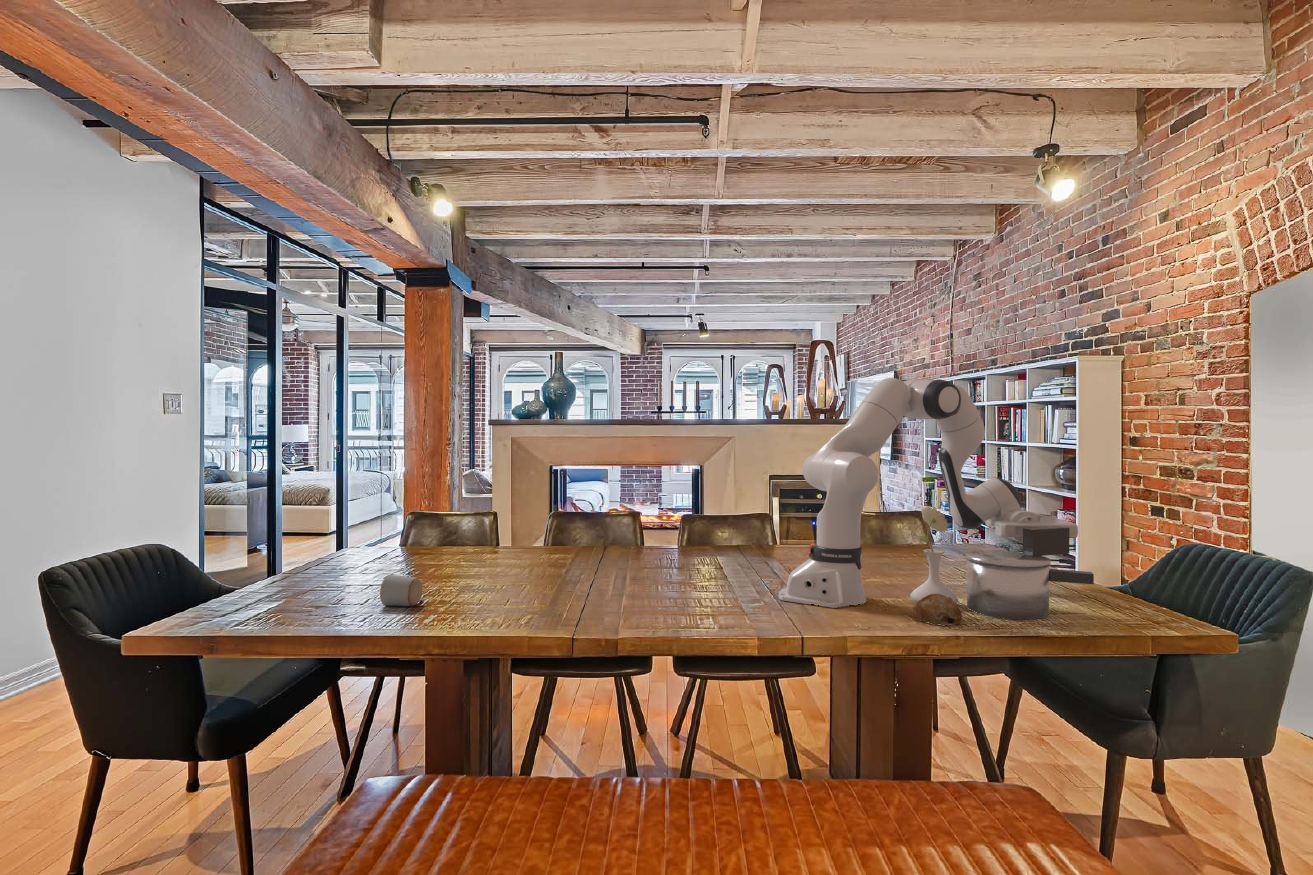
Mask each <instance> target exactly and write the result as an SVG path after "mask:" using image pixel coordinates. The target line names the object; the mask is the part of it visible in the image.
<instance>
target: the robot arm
mask: <svg viewBox="0 0 1313 875" xmlns="http://www.w3.org/2000/svg"><path fill="white" fill-rule="evenodd" d="M977 408H978V407H977V406H976V404H975V402H974V401H973V399H972V397H971V396H970V395H969V393H968V392H967V391H966V390H965V389H964V387H963V386H961V385H959V384H955V383H953V382H950V381H949V380H945V379H932V378H931V379H930V378H929V379H928V378H914V379H903V380H901V379H898V378H896V377H887V378H884V379H882V380H880V381H879V382H878V383H877V384H876V385H875V386H874V387H873V388H872V389H871V390H870V391H869V393H868V394H867V395H866V396H865V397H864V399H863V400H862V402H861V403H860V404H859V405H858V406H857V408H856V410H855V411H854V412H853V414H852V415H851V416H850V418H849V419H848V421H846V424H844V426H843V427H842V428H841V429H840V430H838V432H837V433H836V434H835V435H834V436H832V438H830V440H829V441H827V442H826V443H825V445H823V446H822V447H820V449H819V450H817V451H816V452H814V453H812V454H811V455H809V456H807V458H806V459H805V461H804V463H803V465H802V466H803V467H802V474H803V478H804V480H805V481H806V482H807V484H809V486H811V487H813V488H815V489H817V490H819V491H823V492H826V496H825V500H824V503H823V507H822V509H821V510H820V511H819V512H818V514H817V515H816V543H811V544H810V545H809V547H808V557H809V558H808V559H807V560H805V561H804V562H802V563H801V564H800V565H798V566H797V567H795V568H794V569H793V570H791V572H790V574H789V576H788V578H787V583H786V587H783V588H782V589H780V590H779V591H778V597H777V598H778V599H779V600H781V601H786V602H792V603H799V604H806V605H811V604H814V605H813V606H818V605H819V606H818V607H826V608H831V609H832V608H833V609H835V608H836V609H837V608H838V607H839V608H842V606H843V607H850V606H849V605H854V606H859V605H858V604H860V605H863V604H865V603H867V598H866V594H865V589H864V585H863V577H862V568H863V547H862V546H861V521H862V514H863V509H864V506H865V502H866V501H867V500H866V499H867V497H868V496H869V493H870V492H871V491H872V490H873V489H874V488H875V486H876V485H877V483H878V480H879V470H878V469H879V468H878V466H877V464H876V462H875V461H874V460H873V459H872V458H870V457H871V456H872V455H874V454H876V453H878V452H879V451H881V449H882V448H883V447H884V445H885V444H886V443H887V441H888V440H889V439H890V437H891V435H892V434H893V432H894V431H895V430H896V428H897V426H898V425H899V424H900V422H901V420H902V418H910V419H917V420H935V421H936V423H937V426H938V428H939V431H940V434H941V446H940V450H939V451H938V463H939V467H940V472H941V475H942V478H943V482H944V487H945V490H946V495H947V499H948V509H949V512H950V516H951V517H952V520H953V521H954V523H956V525H957V526H958V527H960V528H962V529H968V530H976V529H978V528H979V527H980V526H982V525H983V524H985V525H986V527H987V528H988V529H989V531H991V532H993V533H994V534H995V535H996V536H999V537H1001V538H1006V539H1010V540H1013V541H1016V542H1019V543H1021V544H1023V528H1035V527H1054V526H1061V527H1068V528H1069V539H1077V538H1078V535H1079V526H1078V524H1077V523H1074V522H1071V521H1068V520H1065V519H1063V518H1062V519H1061V518H1058V516H1057V515H1052V514H1042V513H1036V512H1033V511H1028V510H1023V509H1022V507H1023V505H1022V499H1021V495H1020V494H1019V492H1018V490H1017V488H1016V486H1014V485H1013V484H1012V483H1011V482H1009V481H1008V480H1006V479H1003V478H1001V477H996V476H995V477H991V478H989V479H987V480H985V481H984V482H982V483H979V485H978V486H975V487H974V488H971V489H970V490H968V491H967V492H966V489H965V484H964V480H963V478H962V471H963V468H964V466H965V464H966V462H967V461H968V459H969V458H970V457H971V455H972V454H974V452H975V451H976V450H977V449H978V448H979V447H980V445H981V444H982V442H983V441H984V438H985V434H986V429H985V425H984V422H983V419H982V417H981V415H980V412H979V410H978V409H977ZM839 608H838V609H839Z"/></svg>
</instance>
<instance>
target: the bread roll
mask: <svg viewBox="0 0 1313 875" xmlns="http://www.w3.org/2000/svg"><path fill="white" fill-rule="evenodd" d="M913 610H914V615H915V618H916V619H917V618H918V619H919V620H921V621H923V622H922V623H925V622H929V623H932V624H941V625H949V624H955V625H957V624H956V623H959V624H960V623H961V621H962V618H963V617H962V615H963V614H962V611H961V609H960V607H959V605H958V604H957V603H955V602H954V601H953V600H952V599H951V598H950V597H946V596H944V595H941V594H930V595H928V596H925V597H924V598H922V599H921V600H919V601H918V603H917V602H916V604H915V605H914V607H913ZM918 619H917V620H918ZM919 620H918V621H919ZM932 624H931V625H932ZM941 625H940V626H941ZM949 626H950V625H949Z"/></svg>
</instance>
